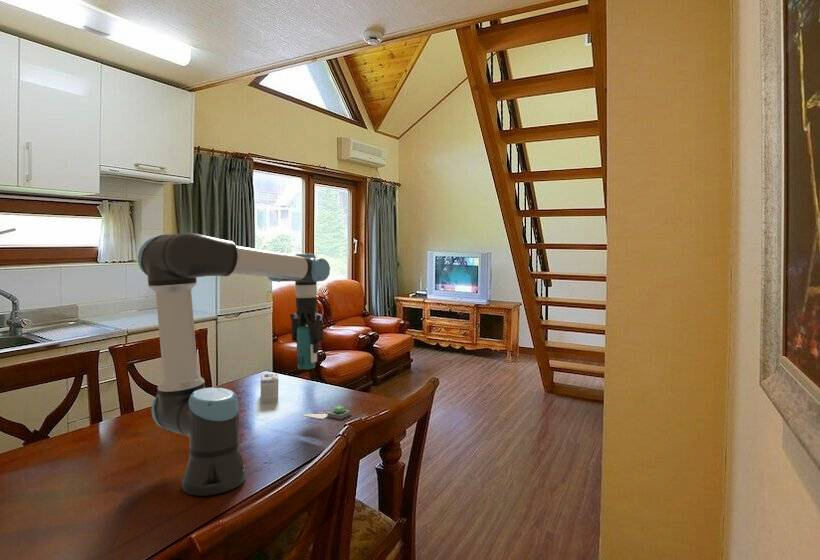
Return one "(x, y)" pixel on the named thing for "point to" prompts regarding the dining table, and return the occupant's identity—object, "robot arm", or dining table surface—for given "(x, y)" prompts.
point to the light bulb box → (269, 388)
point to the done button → (339, 409)
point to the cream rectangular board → (316, 416)
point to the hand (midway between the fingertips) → (307, 361)
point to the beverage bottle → (304, 346)
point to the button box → (339, 416)
